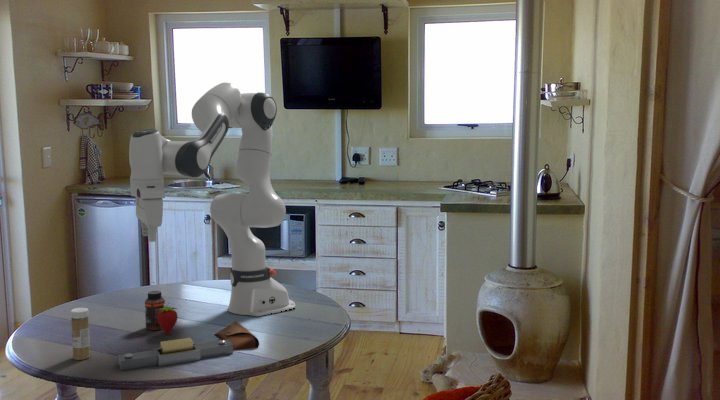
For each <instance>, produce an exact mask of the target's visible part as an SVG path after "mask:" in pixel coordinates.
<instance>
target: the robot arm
mask: <svg viewBox="0 0 720 400" xmlns="http://www.w3.org/2000/svg"><path fill="white" fill-rule="evenodd" d="M277 109H278V108H277V102H276V100H275V99H274V98H273V96H272V95H271V94H269V93H266V92H246V93H242V92H241V91H240V89H239V88H238V87H237V86H236V85H235V84H233V83H230V82H220V83H219V84H217V85H215V86H213V87H211V88H210V89H209V90H207V91H206V92H205V93H204V94H203V95H202V96H201V97H199V99H198V100H196V102H195V103H194V105H193V107H192V109H191V119H192V121H193V123H194V126H195V127H196V128H197V130H199V131H200V132H201V134H200V136H199V137H198V138H197V139H194V140H188V141H182V140H181V141H180V140H177V141H176V140H170V139H168V138H166V137H164V136H163V135H161V133H160V131H159V130H158V129H154V128H151V129H147V128H146V129H141V130H137V131H135V132H133V133H131V136H130V140H129V146H128V147H129V149H128V152H129V153H128V156H129V157H128V158H129V160H128V161H129V162H128V164H129V166H130V170H131V171H130V176H129V181H130V182H129V185H130V187H129V188H130V196H131V197H135V216H136V218H137V219H139V220H140V226H141V231H142V232H141V234H142V236H143V237H147V239H148V241H149V242H150V243H153V242H156V241H157V231H158V227H161V226H162V224H163V218H164V217H163V216H164V215H163V213H164V212H163V211H164V200H163V199H165V197H166V191H165V185H164V184H165V183H164V182H165V181H164V175H171V176H184V177H190V178H198V177H201V176H202V175H204V173H206V171H208V170H207V169H208V168H209V167H210V164H211V161H212V158H213V156H214V155H215V153H216V152H217V150H218V148H219V146H220V145H221V143H222V141H223V140H224V138H225V137H226V136H227V133H228V131H229V129H233V128H234V129H241V133H242V134H241V138H240V142H239V147H238V152H237V153H238V155H237V160H236V161H237V162H236V167H235V168H236V169H235V172H236V175H237V178H238V179H239V180H241V181H242V182H243V183H245V184H246V185H248V193H239V192H229V193H222V194H217V195H216V196H215V197H213V199H212V201H211V202H210V207H209V212H210V213H209V214H210V216H211V218H212V220H213V221H214V222H215V223H216V224H217V225H219V227H220V228H221V229H222V230H223V231H224V233H225V235H226V237H227V239H228V243H229V246H230V253H231V267H230V277H229V278H230V279H229V280H230V285H231V291H230V292H231V293H230V298H229V299H230V300H229V302H228V303H229V304H228V306H227V307H228V308H227V311H228V312H229V313H232V314H233V315H242V316H244V315H245V316H250V317H251V316H252V317H261V316H265V315H271V313H272V314H276V313H282V312H286V311H285V310H287V311H290V310H289V309H292V310H294V309H293V308H295V306H296V303H295V301H293V300H292V299H290V298H289V293H288V290H287V289H286V287H285V286H284V285H282V284H281V283H280V282H278V281H277V280H275V279H274V278H273V277H274V276H275V275H276V274H277V272H276V270H275V269H273V268H270V267H268V266H266V246H265V244H264V242H263V241H262V240H261V239H259V238H258V237H257V236H255V235H254V234H253V232H252V230H251V228H260V229H261V228H262V229H264V228H265V229H266V228H274V227H278V226H280V225H281V224H282V223H283V222H284V220H285V217H286V214H287V211H286V210H287V209H286V205H285V203H284V200H283V199H282V198H281V197H280V196H279V195H278V194H277V193H276V192H275V190H274V188H273V185H272V181H271V167H272V166H271V162H272V154H273V131H272V128H271V127H272V125H273V123H274V121H275V120H276V116H277V112H278V110H277ZM295 309H296V308H295ZM281 311H282V312H281Z"/></svg>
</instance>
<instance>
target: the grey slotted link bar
mask: <svg viewBox="0 0 720 400" xmlns="http://www.w3.org/2000/svg"><path fill="white" fill-rule="evenodd" d="M231 354H234V351H233V344H232V343H231V342H230V341H229V340H228V339H227V340H221V339H219V340H213V341H209V342H201V343H195V342H193V350H189V351H182V352H176V353H169V354H162V355H161V346H159V347H155V348H154V347H153V349H151V350H144V351H137V352H129V353H128V352H127V353H123V354H118V355H117V356H118V359H117V360H118V365H119V368H120V371H127V370H133V369H140V368H146V367H147V368H148V367H153V366H158V367H162V366H169V365H176V364H181V363H188V362H194V361H200V360H201V359H207V358H210V357H211V358H213V357H219V356H225V355H231Z"/></svg>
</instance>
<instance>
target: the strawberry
mask: <svg viewBox="0 0 720 400" xmlns="http://www.w3.org/2000/svg"><path fill="white" fill-rule="evenodd" d="M169 304H170V302H168V303H167V305H165V306H164V308H160V309H159V310H161V311H159V313H158V314H157V320H158V323H159V325H160V327H161V328H162V329H161V330H162V331H163V332H164V334H165V335H170V333H171V332H172V330H173V329H174V327H175V326H176V324H177V322H178V313H177V311H176V310H177V309H178V308H177V307H171V306H168V305H169Z"/></svg>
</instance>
